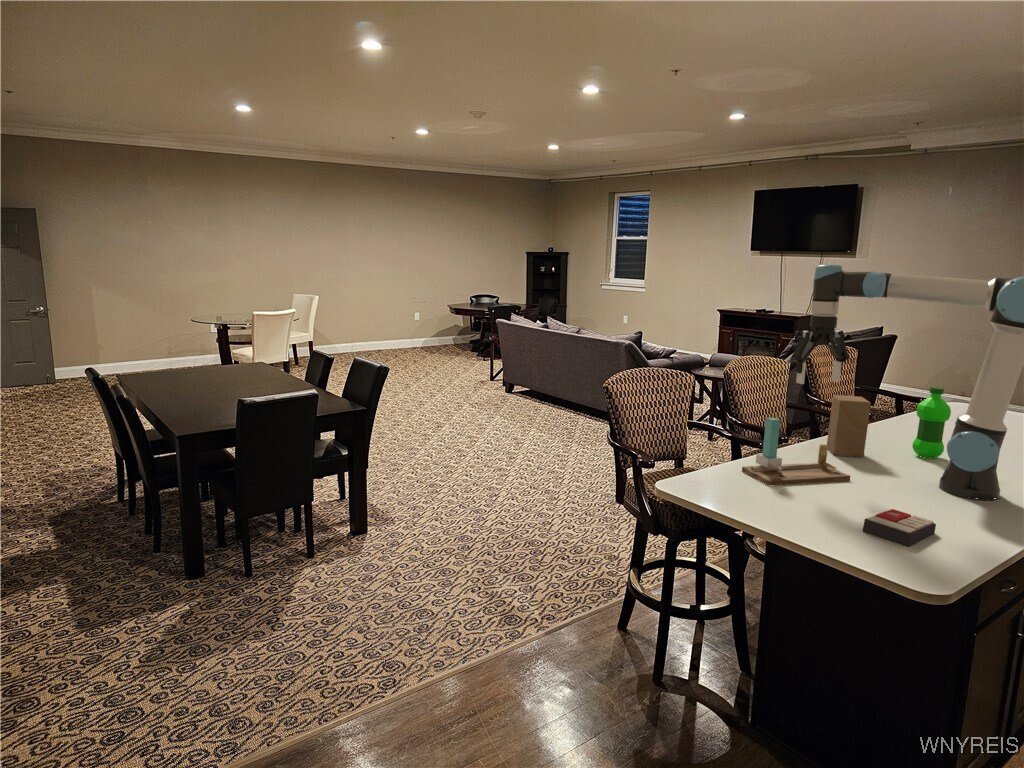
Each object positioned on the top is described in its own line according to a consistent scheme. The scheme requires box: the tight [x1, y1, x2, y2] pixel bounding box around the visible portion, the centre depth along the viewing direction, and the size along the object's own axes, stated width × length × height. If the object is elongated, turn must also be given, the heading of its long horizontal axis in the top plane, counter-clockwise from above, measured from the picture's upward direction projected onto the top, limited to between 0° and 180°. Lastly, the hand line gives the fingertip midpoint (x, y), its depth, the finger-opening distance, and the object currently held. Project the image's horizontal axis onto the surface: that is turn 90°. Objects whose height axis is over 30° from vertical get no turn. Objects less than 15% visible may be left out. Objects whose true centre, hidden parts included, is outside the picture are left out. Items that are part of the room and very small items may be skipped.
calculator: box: [862, 508, 937, 548], centre depth 167 cm, size 11×4×15 cm
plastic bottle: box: [911, 386, 952, 459], centre depth 234 cm, size 10×10×25 cm
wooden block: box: [826, 394, 872, 458], centre depth 236 cm, size 10×10×20 cm
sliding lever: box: [755, 417, 783, 475], centre depth 207 cm, size 9×5×16 cm, turn 15°
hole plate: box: [741, 443, 851, 486], centre depth 209 cm, size 14×29×9 cm, turn 105°
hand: (817, 382), depth 210 cm, fingers open, 13 cm apart
